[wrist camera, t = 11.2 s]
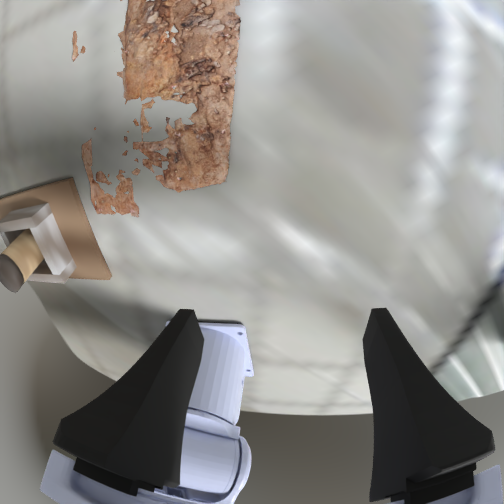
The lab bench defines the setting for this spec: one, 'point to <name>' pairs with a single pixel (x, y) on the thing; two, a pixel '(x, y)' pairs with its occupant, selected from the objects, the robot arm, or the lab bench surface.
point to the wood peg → (19, 261)
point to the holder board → (55, 232)
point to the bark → (180, 76)
